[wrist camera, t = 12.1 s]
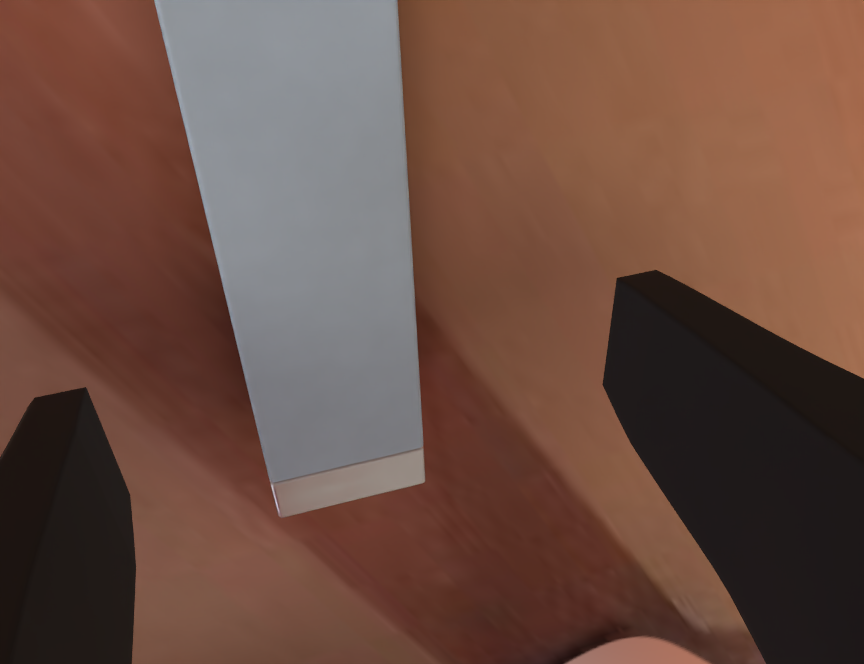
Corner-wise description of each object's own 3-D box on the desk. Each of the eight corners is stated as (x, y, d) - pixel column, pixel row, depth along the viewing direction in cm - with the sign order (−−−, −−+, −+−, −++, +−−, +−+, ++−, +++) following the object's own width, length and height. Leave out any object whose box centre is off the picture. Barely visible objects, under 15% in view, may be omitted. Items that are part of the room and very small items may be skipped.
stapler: (90, -287, 12) (77, -275, 9) (330, -300, 13) (389, -292, 10) (255, 409, 21) (275, 527, 18) (390, 380, 22) (430, 488, 19)
